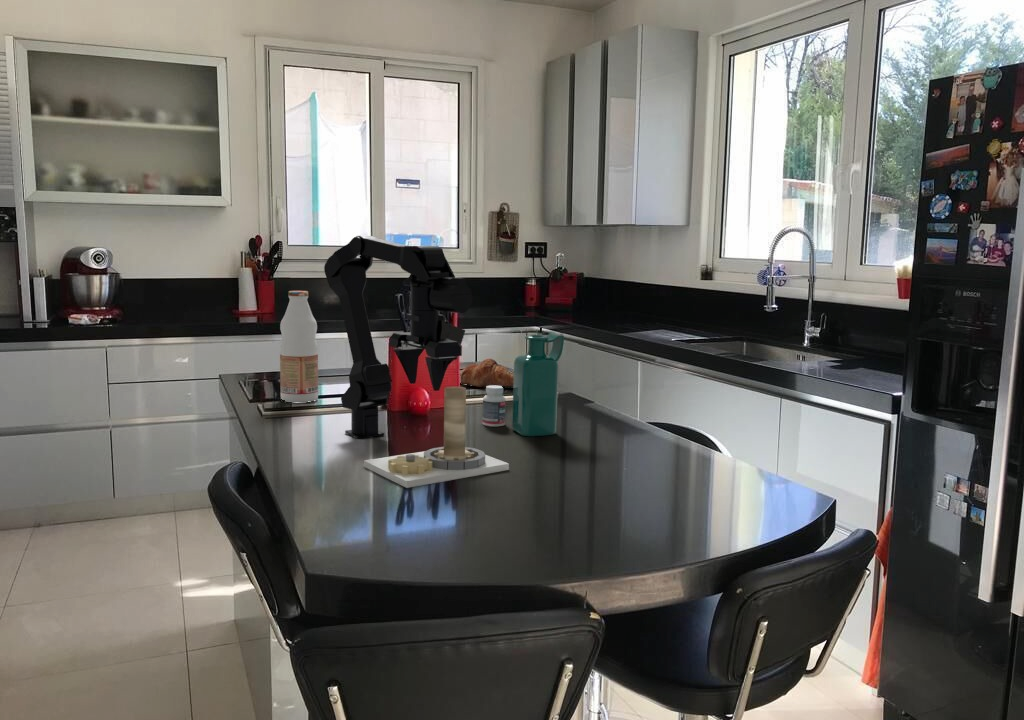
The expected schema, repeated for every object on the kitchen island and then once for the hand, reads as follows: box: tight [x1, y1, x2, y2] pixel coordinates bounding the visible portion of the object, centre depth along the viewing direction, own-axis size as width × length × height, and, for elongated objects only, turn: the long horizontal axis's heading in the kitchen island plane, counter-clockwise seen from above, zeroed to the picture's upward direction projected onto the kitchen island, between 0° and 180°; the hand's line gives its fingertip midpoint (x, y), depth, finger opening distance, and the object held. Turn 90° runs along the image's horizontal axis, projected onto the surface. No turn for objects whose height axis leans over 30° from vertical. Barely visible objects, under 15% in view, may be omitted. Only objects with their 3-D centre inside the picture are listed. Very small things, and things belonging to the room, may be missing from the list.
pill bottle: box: [482, 385, 507, 428], centre depth 202 cm, size 5×5×9 cm
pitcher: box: [511, 332, 565, 437], centre depth 195 cm, size 10×8×22 cm
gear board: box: [363, 446, 510, 489], centre depth 164 cm, size 16×22×4 cm
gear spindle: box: [434, 386, 474, 460], centre depth 164 cm, size 8×8×14 cm
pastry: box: [459, 358, 514, 387], centre depth 253 cm, size 17×15×8 cm
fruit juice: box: [279, 290, 319, 402], centre depth 223 cm, size 9×9×28 cm
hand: (424, 387), depth 176 cm, fingers open, 9 cm apart
